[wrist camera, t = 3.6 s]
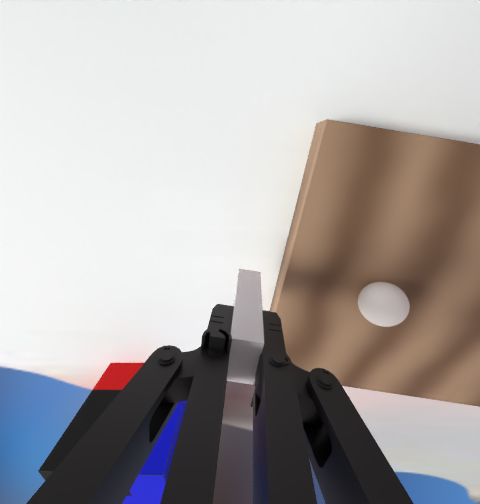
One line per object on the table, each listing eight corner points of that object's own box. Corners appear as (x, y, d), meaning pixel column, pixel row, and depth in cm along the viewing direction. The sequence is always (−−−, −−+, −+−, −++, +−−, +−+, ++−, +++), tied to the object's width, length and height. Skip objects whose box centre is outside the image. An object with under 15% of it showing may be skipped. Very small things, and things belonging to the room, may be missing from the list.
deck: (259, 352, 25) (259, 373, 23) (316, 123, 16) (326, 119, 14) (528, 393, 25) (555, 417, 23) (733, 192, 16) (811, 199, 14)
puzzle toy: (194, 362, 26) (163, 475, 17) (205, 417, 30) (184, 532, 21) (111, 362, 27) (38, 471, 18) (132, 416, 31) (82, 527, 22)
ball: (359, 270, 18) (380, 294, 15) (400, 277, 18) (429, 302, 15) (345, 304, 19) (362, 332, 16) (383, 310, 19) (407, 340, 16)
